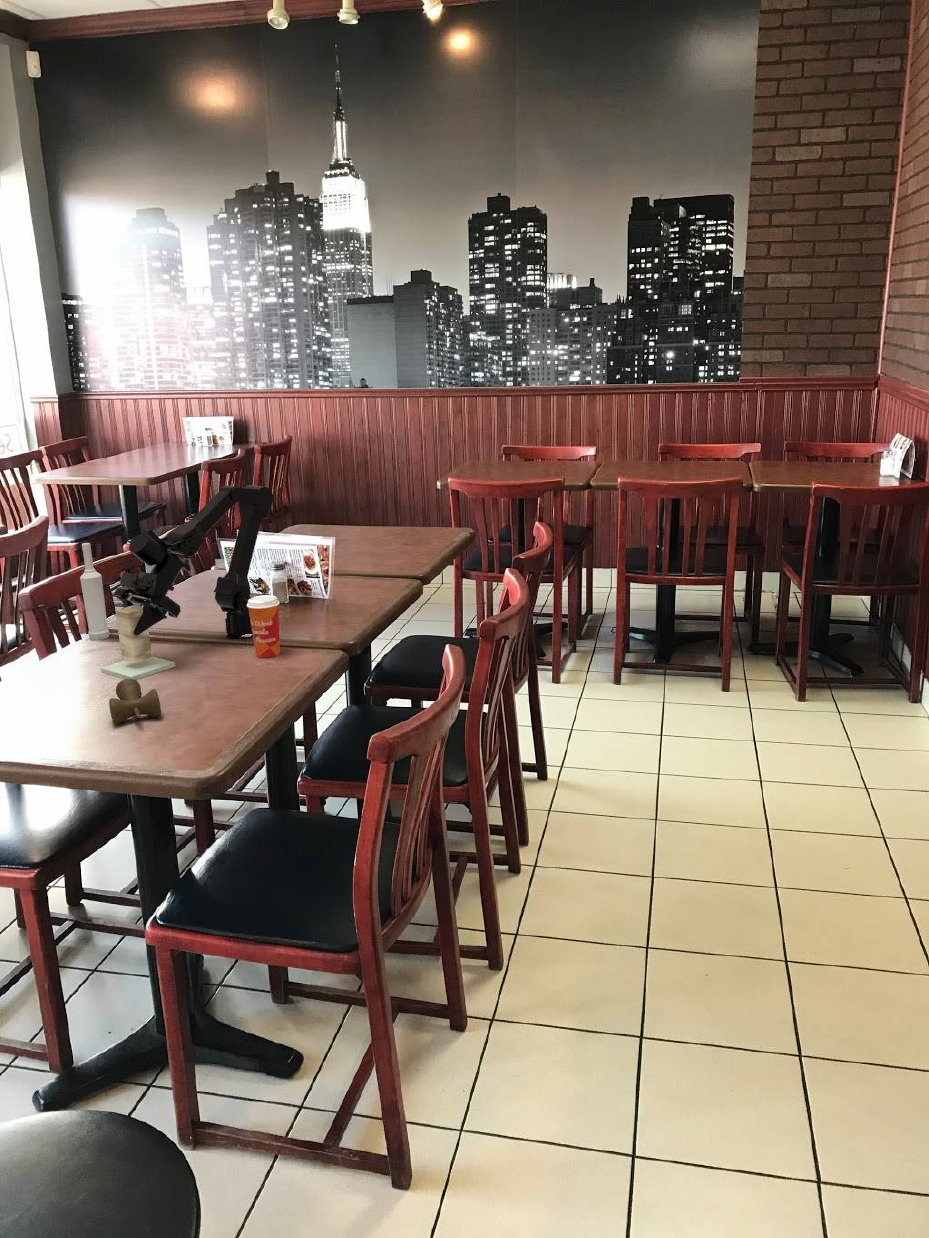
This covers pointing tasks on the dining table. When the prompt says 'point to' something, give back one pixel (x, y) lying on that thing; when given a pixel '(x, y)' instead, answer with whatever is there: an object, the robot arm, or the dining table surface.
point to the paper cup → (265, 625)
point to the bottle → (93, 598)
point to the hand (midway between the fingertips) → (128, 633)
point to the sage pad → (138, 668)
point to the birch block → (132, 635)
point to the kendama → (133, 702)
